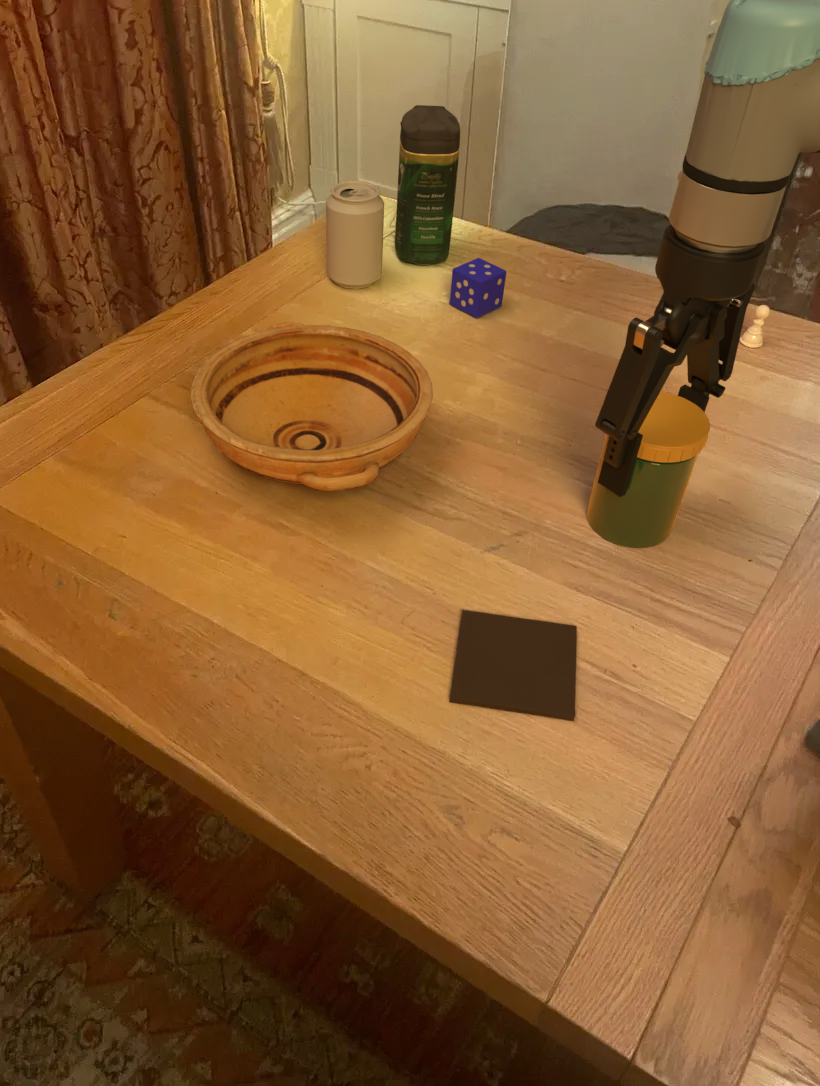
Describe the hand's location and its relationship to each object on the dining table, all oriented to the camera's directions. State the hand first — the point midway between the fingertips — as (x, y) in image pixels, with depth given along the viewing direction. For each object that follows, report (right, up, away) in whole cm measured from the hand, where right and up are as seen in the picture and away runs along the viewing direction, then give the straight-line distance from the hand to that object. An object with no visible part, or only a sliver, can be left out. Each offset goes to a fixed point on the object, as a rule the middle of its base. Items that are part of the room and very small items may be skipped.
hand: (644, 468), depth 85 cm
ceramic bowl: (-32, +4, +12) cm, 34 cm away
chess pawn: (+22, +20, +29) cm, 42 cm away
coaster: (-14, -18, -9) cm, 24 cm away
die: (-12, +26, +34) cm, 45 cm away
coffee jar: (-18, +37, +45) cm, 61 cm away
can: (-28, +31, +39) cm, 57 cm away
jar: (0, -4, +5) cm, 6 cm away
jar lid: (0, +4, -4) cm, 5 cm away
